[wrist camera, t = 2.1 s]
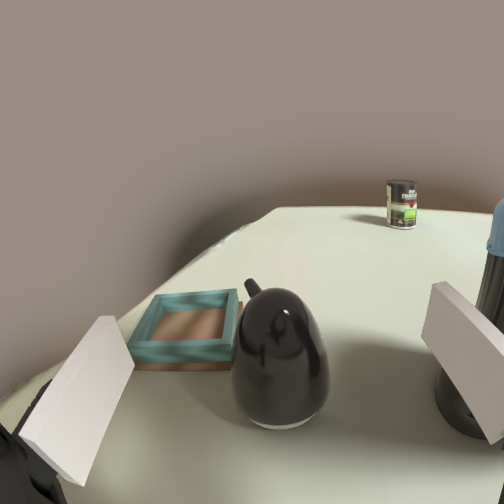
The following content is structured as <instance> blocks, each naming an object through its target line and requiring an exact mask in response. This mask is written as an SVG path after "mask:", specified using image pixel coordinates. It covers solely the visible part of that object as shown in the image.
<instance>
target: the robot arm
mask: <svg viewBox="0 0 504 504" xmlns="http://www.w3.org/2000/svg"><path fill="white" fill-rule="evenodd" d="M486 249H487V250H488V254H487V260H486V265H485V269H484V274H483V278H482V282H481V287H480V290H479V294H478V298H477V302H476V305H475V307H474V306H473V305H472V304H471V303H470V302H469V301H468V300H467V299H466V298H464V297H463V296H462V295H461V294H460V293H459V292H458V291H457V290H455V289H454V288H453V287H452V286H451V285H450V284H448V283H447V282H446V281H445V282H440V283H434V284H432V289H431V295H430V300H429V304H428V309H427V314H426V318H425V322H424V326H423V330H422V334H421V338H422V339H423V340H424V342H425V343H426V345H427V346H428V347H429V349H430V350H431V352H432V353H433V354H434V356H435V357H436V359H437V360H438V361H439V363H440V364H441V368H440V370H439V373H438V375H437V378H436V382H435V397H436V401H437V404H438V406H439V409H440V411H441V412H442V414H443V415H444V417H445V418H446V419H447V421H448V422H449V423H450V424H451V425H452V426H454V427H455V428H456V429H458V430H459V431H461V432H462V433H464V434H467V435H469V436H472V437H475V438H481V439H488V441H489V443H490V445H492V444H494V443H495V442H497V441H498V440H500V439H501V438H503V437H504V198H503V199H502V200H501V201H500V202H499V203H498V204H497V206H496V208H495V210H494V214H493V221H492V227H491V233H490V238H489V239H488V241H487V248H486ZM134 367H135V364H134V362H133V360H132V358H131V355H130V353H129V351H128V348H127V346H126V344H125V341H124V339H123V337H122V334H121V332H120V329H119V326H118V324H117V321H116V319H115V316H99V318H98V319H97V320H96V322H95V323H94V324H93V325H92V327H91V328H90V329H89V330H88V332H87V333H86V335H85V336H84V337H83V339H82V340H81V341H80V342H79V344H78V345H77V346H76V348H75V349H74V351H73V352H72V353H71V355H70V356H69V357H68V359H67V360H66V362H65V363H64V364H63V366H62V367H61V369H60V370H59V372H58V373H57V374H56V376H55V377H54V379H51V380H50V381H49V382H47V383H46V384H45V385H44V386H43V387H42V388H41V389H40V391H39V392H38V394H37V395H36V399H35V398H34V400H33V401H32V403H31V406H29V407H28V409H27V411H26V412H25V414H24V415H23V417H22V419H21V420H20V422H19V423H18V425H17V427H16V428H15V430H14V432H13V433H12V434H11V435H10V433H9V432H8V431H7V430H6V429H5V428H4V427H3V426H2V424H1V423H0V504H67V502H66V499H65V497H64V494H63V491H62V488H61V485H60V483H59V481H58V479H57V478H56V475H57V473H59V474H60V475H61V476H62V477H63V478H64V479H66V480H67V481H69V482H72V483H74V484H77V485H80V486H82V487H84V485H85V483H86V480H87V477H88V475H89V472H90V469H91V467H92V464H93V462H94V459H95V456H96V454H97V451H98V449H99V446H100V444H101V441H102V439H103V437H104V434H105V432H106V429H107V427H108V425H109V422H110V420H111V418H112V415H113V413H114V411H115V408H116V406H117V404H118V402H119V399H120V397H121V395H122V393H123V390H124V388H125V386H126V384H127V382H128V379H129V377H130V375H131V373H132V371H133V369H134ZM502 449H503V450H504V444H503V447H502ZM498 504H504V484H503V488H502V492H501V495H500V499H499V502H498Z"/></svg>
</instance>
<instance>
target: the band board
mask: <svg viewBox="0 0 504 504" xmlns="http://www.w3.org/2000/svg"><path fill="white" fill-rule="evenodd" d="M242 311H243V302H242V301H241V302H239V301H238V295H237V288H236V289H225V290H213V291H202V292H189V293H176V294H162V295H155V296H154V298H153V300H152V301H151V303H150V305H149V307H148V308H147V310H146V312H145V313H144V315H143V317H142V319H141V320H140V322H139V324H138V326H137V327H136V329H135V331H134V333H133V334H132V336H131V338H130V340H129V342H128V343H127V345H126V346H127V348H128V351H129V353H130V355H131V358H132V360H133V362H134V364H135V367H134V369H133V370H154V371H206V370H230V358H231V350H232V344H233V338H234V334H235V330H236V326H237V323H238V320H239V318H240V315H241V313H242Z"/></svg>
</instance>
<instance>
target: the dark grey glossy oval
mask: <svg viewBox="0 0 504 504" xmlns="http://www.w3.org/2000/svg"><path fill="white" fill-rule="evenodd" d="M244 285H245V288H246V290H247V292H248V294H249V296H250V298H251V299H250V300H249V301H248V303H247V304H246V306H245V307H244V309H243V311H242V313H241V315H240V318H239V320H238V323H237V326H236V330H235V334H234V338H233V344H232V350H231V358H230V388H231V394H232V398H233V401H234V403H235V405H236V407H237V408H238V410H239V411H240V412H241V413H242V414H243V415H245V416H246V417H247V418H249V419H250V420H251V421H252V422H254V423H256V424H257V425H259V426H262V427H265V428H268V429H274V430H284V429H291V428H294V427H297V426H300V425H302V424H304V423H305V422H307V421H308V420H310V419H311V418H312V417H313V416H314V415H315V414H316V413H317V412H318V411H319V410H320V409H321V408H322V407H323V405H324V404H325V402H326V401H327V398H328V396H329V392H330V385H331V377H330V368H329V361H328V356H327V352H326V348H325V345H324V341H323V338H322V335H321V333H320V330H319V327H318V325H317V323H316V320H315V318H314V317H313V315H312V313H311V311H310V310H309V308H308V307H307V305H306V304H305V303H304V302H303V300H302V299H301V298H300V297H299V296H298V295H296V294H295V293H293V292H292V291H289V290H287V289H283V288H269V289H265V290H261V288H260V287H259V286H258V284H257V283H256V282H255V281H254V280H253V279H251V278H250V279H247V280H246V281H245V283H244Z"/></svg>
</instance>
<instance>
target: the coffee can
mask: <svg viewBox="0 0 504 504" xmlns="http://www.w3.org/2000/svg"><path fill="white" fill-rule="evenodd" d="M416 206H417V182H414V181H408V180H388V181H387V225H388V226H389V227H392V228H396V229H412V228H415V227H416Z"/></svg>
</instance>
